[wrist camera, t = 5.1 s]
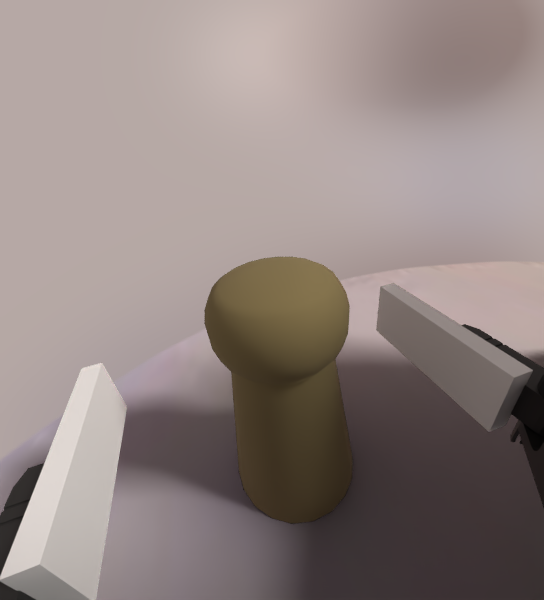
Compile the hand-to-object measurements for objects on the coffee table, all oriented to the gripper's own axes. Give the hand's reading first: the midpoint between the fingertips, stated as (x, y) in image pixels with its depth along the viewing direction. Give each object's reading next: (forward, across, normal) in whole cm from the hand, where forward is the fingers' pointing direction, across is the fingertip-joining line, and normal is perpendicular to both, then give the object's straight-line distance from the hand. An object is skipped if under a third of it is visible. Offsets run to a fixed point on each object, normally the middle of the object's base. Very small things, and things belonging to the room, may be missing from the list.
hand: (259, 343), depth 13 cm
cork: (-2, 0, -7) cm, 7 cm away
